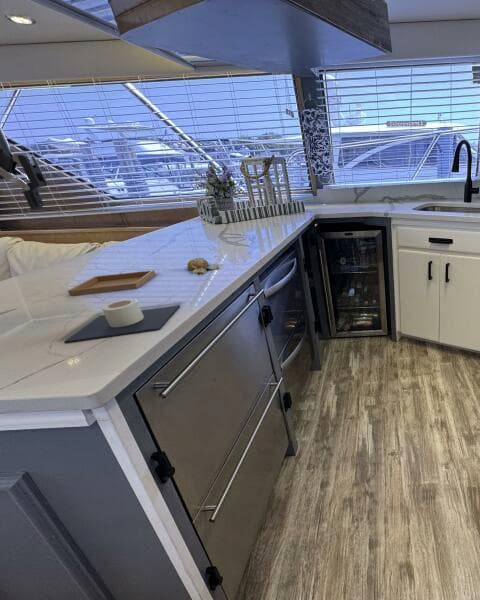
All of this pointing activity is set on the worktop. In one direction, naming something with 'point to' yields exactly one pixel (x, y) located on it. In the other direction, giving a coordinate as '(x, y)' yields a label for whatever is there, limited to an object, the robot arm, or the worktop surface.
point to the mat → (102, 328)
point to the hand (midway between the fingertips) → (12, 210)
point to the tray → (112, 283)
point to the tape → (123, 312)
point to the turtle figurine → (199, 266)
